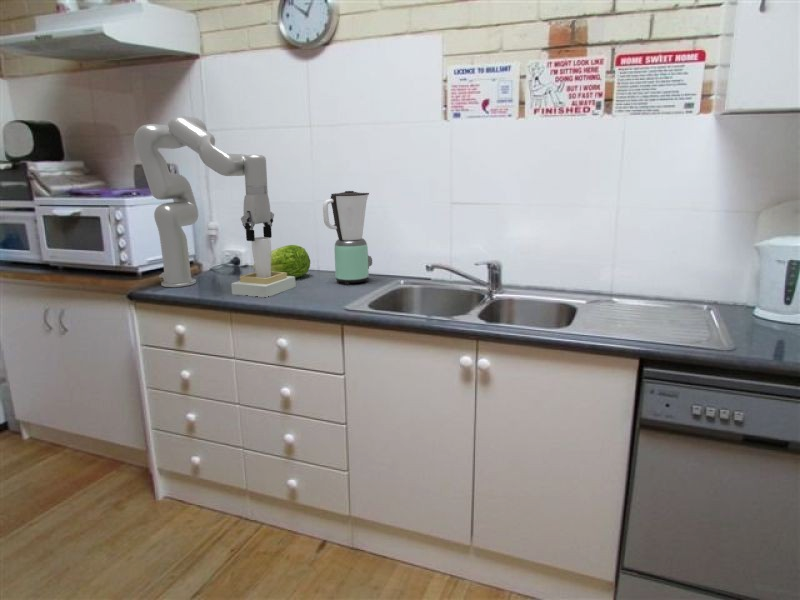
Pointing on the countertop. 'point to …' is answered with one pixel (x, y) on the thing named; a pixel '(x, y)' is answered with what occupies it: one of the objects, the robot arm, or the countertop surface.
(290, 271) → the lettuce
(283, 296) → the countertop surface
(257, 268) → the drinking glass
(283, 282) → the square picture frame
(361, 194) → the green blender
